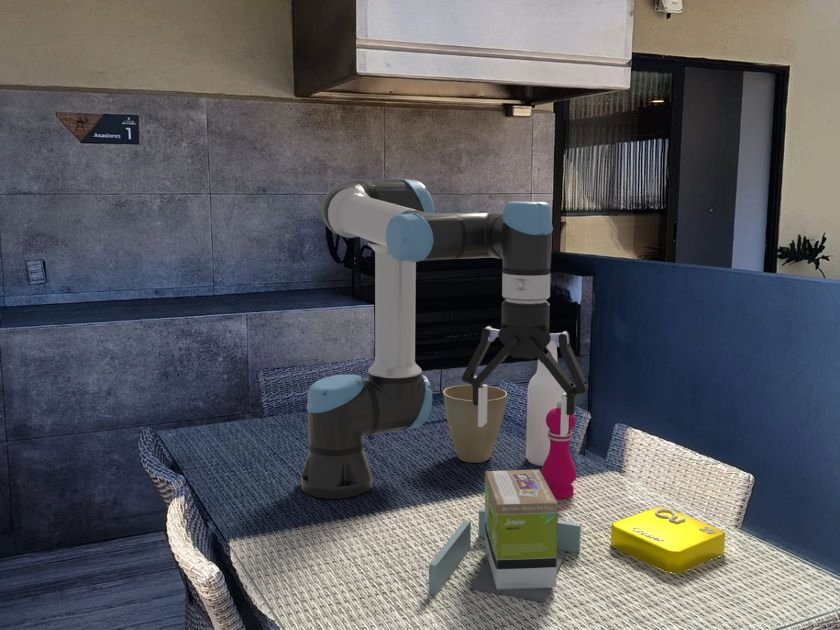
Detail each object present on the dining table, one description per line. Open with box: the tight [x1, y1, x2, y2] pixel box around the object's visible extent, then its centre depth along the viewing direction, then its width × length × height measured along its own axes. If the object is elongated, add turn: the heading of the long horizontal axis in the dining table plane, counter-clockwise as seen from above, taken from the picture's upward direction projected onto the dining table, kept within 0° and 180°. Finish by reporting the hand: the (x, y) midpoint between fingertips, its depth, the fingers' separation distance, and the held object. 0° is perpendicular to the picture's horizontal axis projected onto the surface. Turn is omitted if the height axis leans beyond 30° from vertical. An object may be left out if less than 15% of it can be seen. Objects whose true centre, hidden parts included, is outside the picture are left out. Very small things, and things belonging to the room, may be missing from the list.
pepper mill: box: [540, 401, 577, 500], centre depth 169 cm, size 7×7×20 cm
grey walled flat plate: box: [428, 508, 582, 596], centre depth 136 cm, size 20×24×5 cm
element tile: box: [610, 506, 726, 574], centre depth 145 cm, size 15×15×5 cm
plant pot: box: [442, 384, 508, 464], centre depth 191 cm, size 15×15×16 cm
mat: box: [469, 550, 566, 603], centre depth 137 cm, size 12×17×1 cm
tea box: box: [484, 469, 559, 590], centre depth 135 cm, size 15×10×15 cm
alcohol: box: [525, 341, 565, 467], centre depth 188 cm, size 9×9×30 cm
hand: (522, 429), depth 133 cm, fingers open, 13 cm apart
